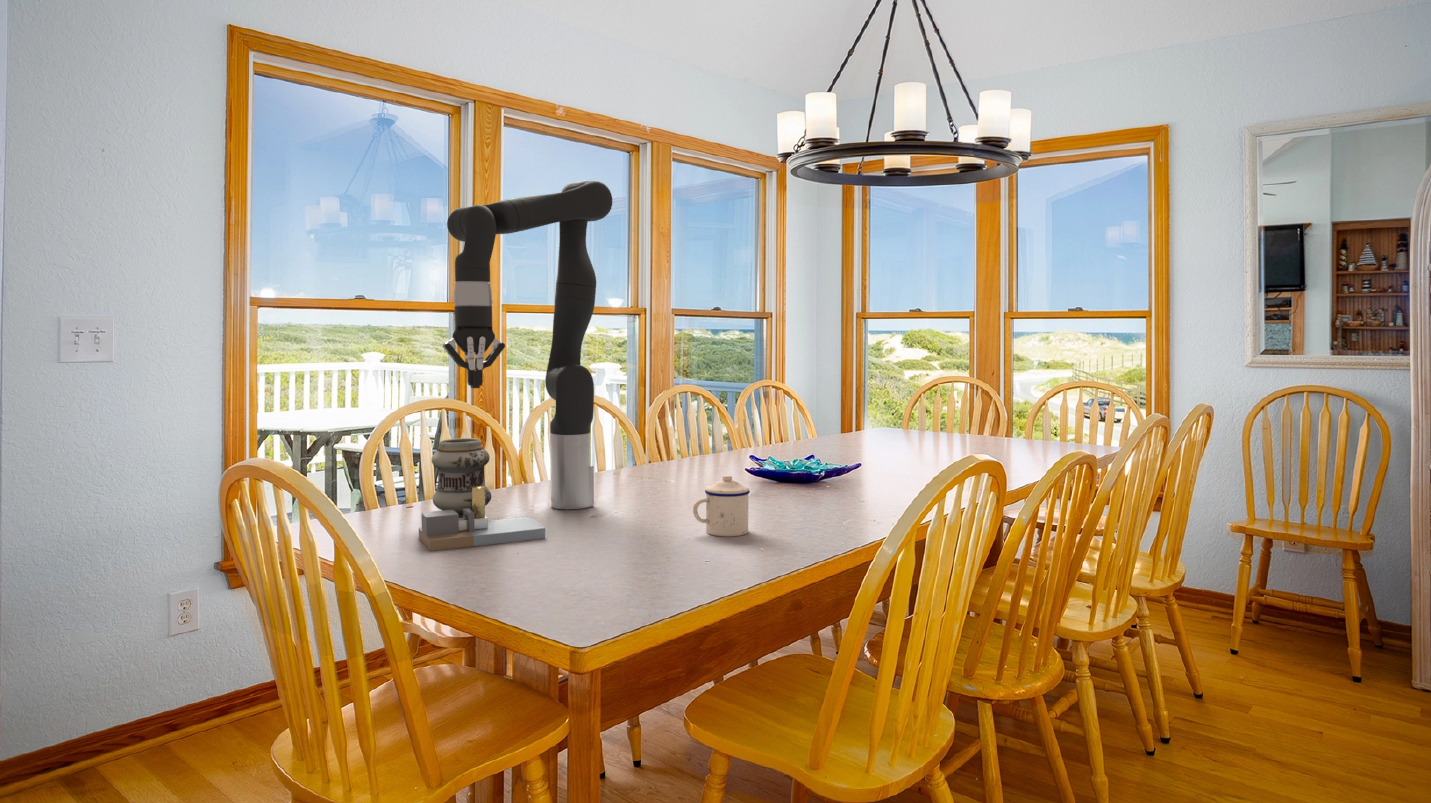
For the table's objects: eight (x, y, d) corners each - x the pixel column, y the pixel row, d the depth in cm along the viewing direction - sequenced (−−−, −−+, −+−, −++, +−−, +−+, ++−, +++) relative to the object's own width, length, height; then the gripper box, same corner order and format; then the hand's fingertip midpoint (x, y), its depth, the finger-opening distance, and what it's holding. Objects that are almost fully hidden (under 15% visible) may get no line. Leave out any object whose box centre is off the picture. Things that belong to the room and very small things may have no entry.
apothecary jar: (450, 516, 197) (448, 435, 195) (501, 519, 194) (500, 437, 193) (421, 528, 185) (419, 442, 183) (475, 531, 182) (474, 444, 181)
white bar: (485, 525, 178) (484, 485, 178) (488, 527, 176) (487, 487, 176) (433, 530, 174) (432, 490, 173) (436, 533, 172) (435, 492, 171)
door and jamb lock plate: (527, 526, 187) (527, 499, 187) (545, 538, 177) (544, 509, 176) (418, 537, 177) (418, 509, 177) (430, 550, 167) (429, 520, 166)
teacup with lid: (737, 525, 188) (738, 470, 187) (757, 534, 180) (757, 477, 179) (684, 530, 184) (684, 474, 183) (702, 540, 175) (702, 481, 174)
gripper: (500, 305, 191) (501, 386, 192) (436, 304, 185) (438, 387, 186) (509, 304, 184) (511, 388, 186) (444, 303, 178) (446, 390, 180)
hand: (475, 387), depth 186 cm, fingers closed
